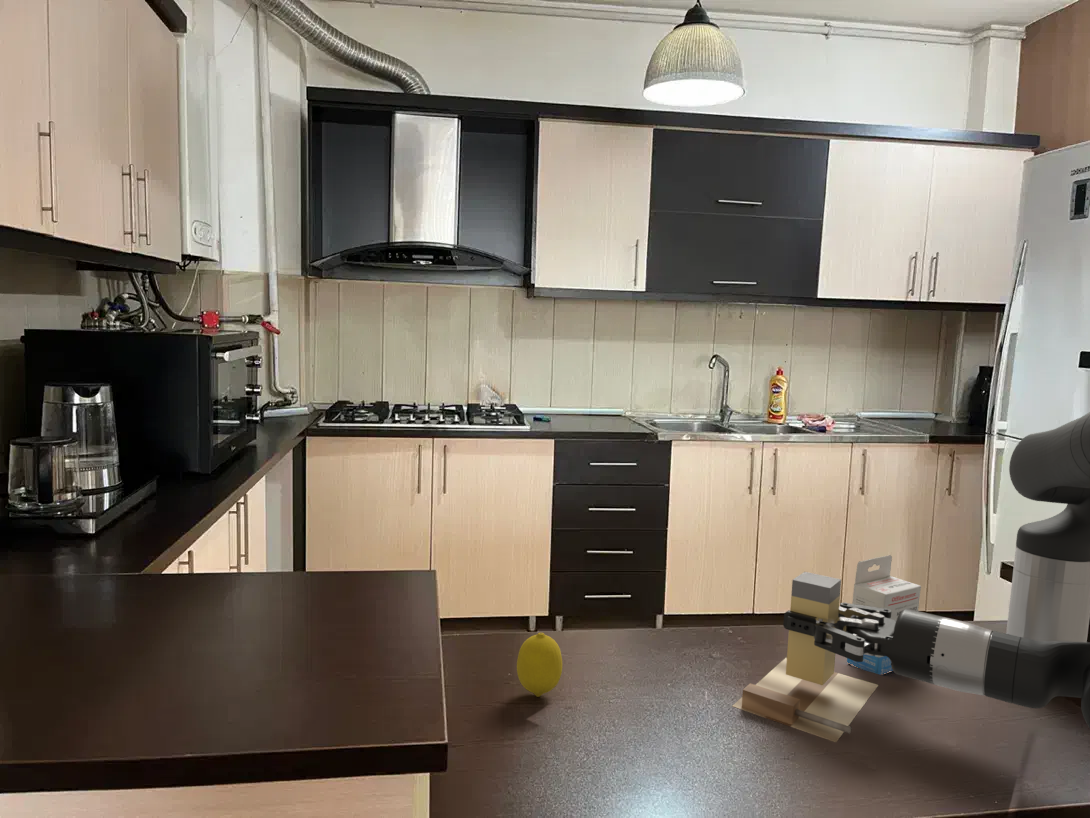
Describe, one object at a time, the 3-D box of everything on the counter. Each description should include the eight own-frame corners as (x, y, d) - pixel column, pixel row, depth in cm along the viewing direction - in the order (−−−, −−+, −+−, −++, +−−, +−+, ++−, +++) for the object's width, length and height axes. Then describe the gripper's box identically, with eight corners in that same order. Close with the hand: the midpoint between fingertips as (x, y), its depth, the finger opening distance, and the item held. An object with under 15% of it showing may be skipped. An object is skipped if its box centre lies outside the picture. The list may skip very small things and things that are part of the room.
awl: (748, 700, 92) (750, 683, 92) (852, 735, 85) (854, 717, 85) (741, 707, 90) (742, 689, 90) (846, 743, 83) (848, 724, 83)
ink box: (878, 679, 102) (888, 571, 101) (845, 664, 107) (854, 561, 105) (914, 666, 107) (924, 563, 106) (881, 652, 111) (890, 553, 110)
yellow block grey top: (797, 662, 99) (804, 571, 97) (833, 673, 96) (841, 579, 95) (785, 674, 95) (792, 579, 94) (822, 685, 92) (830, 588, 91)
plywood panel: (785, 666, 105) (785, 657, 105) (877, 693, 98) (878, 685, 98) (731, 715, 91) (732, 705, 91) (835, 752, 84) (836, 742, 84)
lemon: (567, 692, 95) (571, 629, 94) (549, 711, 90) (552, 645, 89) (527, 682, 97) (530, 621, 96) (507, 700, 92) (510, 636, 91)
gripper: (956, 602, 92) (812, 571, 102) (933, 637, 80) (773, 598, 90) (951, 663, 92) (808, 626, 102) (926, 706, 81) (768, 660, 91)
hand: (792, 613), depth 96 cm, fingers closed on yellow block grey top, 4 cm apart
